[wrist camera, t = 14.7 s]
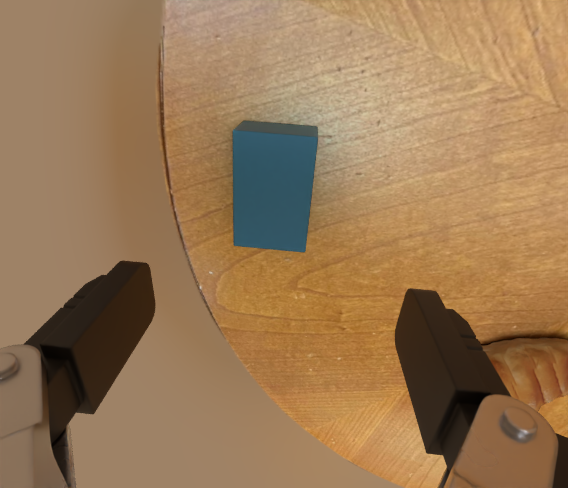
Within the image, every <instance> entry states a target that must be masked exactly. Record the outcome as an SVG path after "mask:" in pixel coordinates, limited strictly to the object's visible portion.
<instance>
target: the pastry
mask: <svg viewBox="0 0 568 488" xmlns="http://www.w3.org/2000/svg"><path fill="white" fill-rule="evenodd" d="M481 346H482V345H481ZM482 347H483V351H485V352H486V354H487V356H488V358H489V359H490V361H491V363H492V364H493V366H494V368H495V369H496V371H497V373H498V374H499V376H500V378H501V379H502V381H503V383H504V385H505V386H506V388H507V390H508V391H509V393H510V395H511V396H512V397H513V398H515V399H518V400H520V401H522V402H524V403H526V404H527V405H529V406H530V407H532V408H533V409H535V410H536V411H539V409H540V408H541V406H543V405H544V404H547V403H549V402H551V401H553V400H554V399H555V398H558V397H564V396H566V395H568V340H566V339H558V338H552V339H549V338H545V337H541V338H540V339H529V338H525V337H524V338H516V339H513V340H502V341H499V342H492V343H491V344H489V345H484V346H482Z"/></svg>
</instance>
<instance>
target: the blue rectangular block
mask: <svg viewBox="0 0 568 488" xmlns="http://www.w3.org/2000/svg"><path fill="white" fill-rule="evenodd" d="M317 143H318V129H317V127H316V126H305V125H293V124H281V123H269V122H257V121H243V122H242V123H241V124H239V125H238V126H237V127H236V128H235V129H234V130H233V229H234V246H242V247H253V248H263V249H274V250H284V251H295V252H305V250H306V242H307V233H308V224H309V215H310V206H311V197H312V188H313V179H314V170H315V161H316V152H317Z"/></svg>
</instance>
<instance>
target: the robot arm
mask: <svg viewBox="0 0 568 488" xmlns="http://www.w3.org/2000/svg"><path fill="white" fill-rule="evenodd" d="M154 313H155V298H154V291H153V284H152V278H151V271H150V267H149V265H148V264H147V263H142V262H130V261H120V262H119V263H118V264H117V265H116V266H115V267H114V268H113V269H112V270H111V271H110V272H109V273H108V274H107V275H101V276H99V277H97V278H96V279H94V280H92V281H90V282H88V283H87V284H85V285H84V286H83V287H82V288H81V289H80V290H79V291H78V292H77V293H76V294H75V295H74V297H73V298H71V299H70V300H69V301H68V302H67V303H65V305H64V307H63V308H60V309H59V310H58V311H57V312H56V313H55V314H54V315H53V316H52V317H51V318H50V319H49V320H48V321H47V322H46V323H45V324H44V325H43V326H42V327H41V328H40V329H39V330H38V331H37V332H36V333H35V334H34V335H33V336H32V337H31V338H30V339H29V340H28V341H26V343H24V344H23V345H12V346H8V347H4V348H1V349H0V488H76V481H75V471H74V462H73V451H72V441H71V431H70V426H69V424H68V423H69V422H70V420H71V419H72V417H73V416H74V414H75V413H76V412H77V413H85V414H94V413H95V411H96V410H97V408H98V407H99V405H100V403H101V402H102V400H103V399H104V397H105V395H106V394H107V392H108V390H109V389H110V387H111V386H112V384H113V382H114V381H115V379H116V377H117V376H118V374H119V373H120V371H121V370H122V368H123V366H124V365H125V363H126V362H127V360H128V358H129V357H130V355H131V353H132V352H133V350H134V349H135V347H136V346H137V344H138V342H139V341H140V339H141V337H142V336H143V334H144V333H145V331H146V330H147V328H148V326H149V325H150V323H151V321H152V319H153V316H154ZM395 345H396V350H397V353H398V356H399V360H400V363H401V367H402V370H403V374H404V377H405V381H406V384H407V388H408V391H409V394H410V398H411V401H412V405H413V408H414V412H415V415H416V419H417V422H418V425H419V429H420V432H421V436H422V439H423V443H424V446H425V450H426V453H428V454H437V455H443V456H444V459H445V462H446V465H447V468H446V470H445V472H444V474H443V476H442V478H441V481H440V483H439V485H438V487H437V488H568V438H567V437H564V436H561V435H559V434H557V433H555V432H554V430H553V428H552V427H551V425H550V424H549V423H548V422H547V420H546V419H545V418H544V417H543V416H542V415H541V414H539V413H538V412H537V411H536V410H535V409H533V408H532V407H530V406H529V405H527V404H526V403H524V402H522V401H520V400H518V399H515V398H513V397H512V396H511V395H510V393H509V391H508V390H507V388H506V386H505V385H504V383H503V381H502V379H501V378H500V376H499V374H498V373H497V371H496V369H495V368H494V366H493V364H492V363H491V361H490V359H489V358H488V356H487V354H486V352H485V351H483V347H482V346H481V344H480V342H479V341H478V339H476V336H475V334H474V332H473V331H472V329H471V327H470V325H469V324H468V322H467V321H466V320H465V319H463V318H462V317H461V316H460V315H459V314H458V313H457V312H456V311H454V310H453V309H446V308H445V306H444V304H443V302H442V300H441V299H440V297H439V295H438V293H437V292H436V291H432V290H421V289H408V290H407V292H406V294H405V298H404V301H403V304H402V308H401V311H400V315H399V318H398V321H397V325H396V329H395Z"/></svg>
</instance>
